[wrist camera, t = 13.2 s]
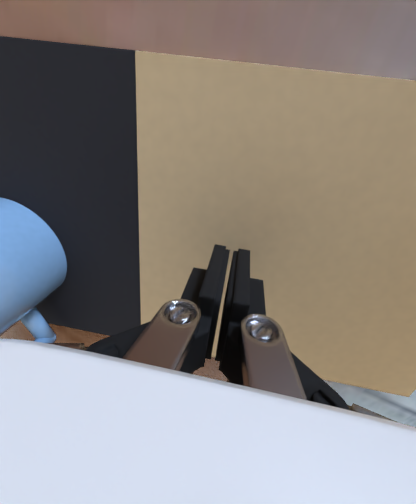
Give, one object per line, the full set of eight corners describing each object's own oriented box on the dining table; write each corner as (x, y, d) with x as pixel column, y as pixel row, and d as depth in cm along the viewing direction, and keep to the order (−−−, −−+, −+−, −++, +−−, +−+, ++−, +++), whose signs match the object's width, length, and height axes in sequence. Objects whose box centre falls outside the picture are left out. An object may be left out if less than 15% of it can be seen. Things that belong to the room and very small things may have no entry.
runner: (644, 106, 9) (652, 105, 9) (407, 394, 17) (408, 397, 17) (-139, 22, 12) (-145, 20, 11) (-19, 307, 20) (-22, 308, 20)
